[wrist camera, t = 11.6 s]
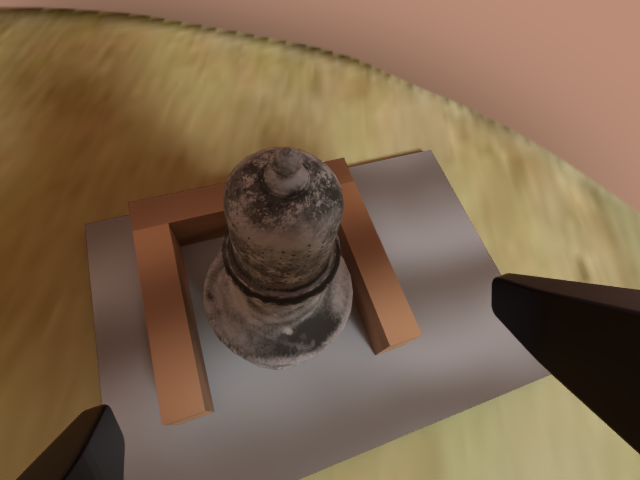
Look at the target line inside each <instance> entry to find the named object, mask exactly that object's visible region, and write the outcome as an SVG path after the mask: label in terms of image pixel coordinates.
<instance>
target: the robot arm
mask: <svg viewBox="0 0 640 480" xmlns="http://www.w3.org/2000/svg"><path fill="white" fill-rule="evenodd" d="M491 307H492V310H493V313H494V314H495V316H496V317H497V318H498V319H499V320H500V321H501V322H502V324H503V325H504V326H505V327H506V328H507V329H508V330H509V331H510V332H511V333H512V334H513V336H514V337H515V338H516V339H517V340H518V341H519V342H520V343H521V344H522V345H523V346H524V347H525V349H526V350H527V351H528V352H529V353H530V354H531V355H532V356H533V357H534V358H535V359H536V360H537V361H538V362H539V363H540V364H541V365H542V366H543V367H544V368H545V369H546V370H547V371H548V372H550V373H551V374H552V375H553V376H554V377H555V378H556V379H557V380H558V381H560V382H561V383H562V384H563V385H564V386H565V387H566V388H567V389H568V390H569V391H571V392H572V393H573V394H574V395H575V396H576V397H577V398H578V399H579V400H580V401H582V402H583V403H584V404H585V405H586V406H587V407H588V408H589V409H590V410H591V411H593V412H594V413H595V414H596V415H597V416H598V417H599V418H600V419H601V420H602V421H604V422H605V423H606V424H607V425H608V426H609V427H610V428H611V429H612V430H613V431H615V432H616V433H617V434H618V435H619V436H620V437H621V438H622V439H623V440H624V441H626V442H627V443H628V444H629V445H630V446H631V447H632V448H633V449H634V450H636V451H637V452H638V453H639V454H640V290H636V289H628V288H620V287H613V286H605V285H597V284H589V283H582V282H574V281H566V280H558V279H551V278H543V277H535V276H527V275H520V274H512V273H507V274H504V275H501V276H498V277H495V278H494V279H493V281H492V290H491ZM124 460H125V440H124V436H123V433H122V431H121V429H120V426H119V424H118V422H117V420H116V418H115V415H114V413H113V411H112V409H111V408H110V406H109V405H106V404H103V405H100V406H97V407H94V408H90V409H87V410H85V411H83V412H82V413H81V414H80V415H79V416H78V417H77V418H76V419H75V420H74V421H73V422H72V423H71V424H70V425H69V426H68V427H67V428H66V429H65V430H64V431H63V432H62V433H61V434H60V435H59V436H58V437H57V438H56V439H55V440H54V441H53V442H52V443H51V444H50V445H49V446H48V447H47V449H46V450H45V451H44V452H43V453H42V454H41V455H40V456H39V457H38V458H37V459H36V460H35V461H34V462H33V463H32V464H31V465H30V466H29V467H28V468H27V469H26V470H25V471H24V472H23V473H22V474H21V475H20V476H19V477H18V478H17V479H16V480H124Z"/></svg>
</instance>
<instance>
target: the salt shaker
mask: <svg viewBox="0 0 640 480" xmlns="http://www.w3.org/2000/svg"><path fill="white" fill-rule="evenodd" d="M343 208H344V201H343V194H342V188H341V185H340V183H339V181H338V179H337V177H336V175H335V174H334V173H333V171H332V170H331V169H330V168H329V167H328V166H327V165H326V164H325V163H324V162H322V161H321V160H319V159H318V158H317V157H315V156H314V155H312V154H310V153H307V152H305V151H302V150H300V149H295V148H290V147H273V148H268V149H264V150H261V151H259V152H256V153H254V154H252V155H250V156H248V157H246V158H245V159H244V160H242V161H241V162H240V163H239V164H238V165H236V166H235V168H234V169H233V171H232V172H231V174H230V175H229V177H228V180H227V183H226V186H225V189H224V195H223V209H224V213H225V217H226V222H227V226H228V227H227V228H226V230H225V233H224V236H223V240H222V243H221V250H220V251H219V252H218V254H217V255H216V257H215V258H214V260H213V262H212V263H211V265H210V266H209V270H208V273H207V276H206V279H205V283H204V303H203V304H204V307H205V311H206V315H207V319H208V322H209V324H210V326H211V327H212V329H213V331H214V332H215V334H216V335H217V337H218V339H219V340H220V341H221V342H222V343H223V344H224V345H225V346H226V347H228V348H229V349H230V350H231V351H232V352H233V353H234V354H236V355H238V356H240V357H242V358H243V359H245V360H246V361H248V362H250V363H252V364H254V365H256V366H258V367H261V368H267V369H273V370H278V369H288V368H292V367H295V366H297V365H300V364H302V363H305V362H306V361H307V360H309V359H311V358H314V357H316V356H317V355H318V354H320V353H321V352H322V351H324V350H325V349H326V348H328V347H329V346H330V345H332V343H333V342H334V341H335V339H336V338H337V337H338V336H339V334H340V333H341V332H342V330H343V329H344V327H345V324H346V322H347V320H348V317H349V315H350V312H351V307H352V298H353V288H352V282H351V275H350V273H349V270H348V268H347V266H346V264H345V261H344V259H343V258H342V256H341V249H340V242H339V238H338V236H337V232H338V229H339V226H340V223H341V220H342V215H343Z"/></svg>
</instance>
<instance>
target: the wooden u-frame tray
mask: <svg viewBox="0 0 640 480" xmlns="http://www.w3.org/2000/svg"><path fill="white" fill-rule="evenodd" d="M324 163H325V164H326V165H327V166H328V167H329V168H330V169H331V170H332V171H333V173H334V174H335V175H336V177H337V179H338V181H339V183H340V185H341V188H342V194H343V201H344V208H343V215H342V220H341V223H340V226H339V229H338V232H337V236H338V238H339V242H340V249H341V256H342V258H343V259H344V261H345V264H346V266H347V268H348V270H349V273H350V275H351V282H352V288H353V298H352V307H351V312H350V315H349V317H348V320H347V322H346V324H345V327H344V329H343V330H342V332H341V333H340V334H339V336H338V337H337V338H336V339H335V341H334V342H333V343H332V345H330V346H329V347H328V348H326V349H325V350H324V351H322V352H321V353H320V354H318V355H317V356H316V357H314V358H311V359H309V360H307V361H306V362H305V363H302V364H300V365H297V366H295V367H292V368H288V369H278V370H273V369H267V368H261V367H258V366H256V365H254V364H252V363H250V362H248V361H246V360H245V359H243V358H242V357H240V356H238V355H236V354H234V353H233V352H232V351H231V350H230V349H229V348H228V347H226V346H225V345H224V344H223V343H222V342H221V341H220V340H219V339H218V337H217V335H216V334H215V332H214V331H213V329H212V327H211V326H210V324H209V322H208V319H207V315H206V311H205V307H204V304H203V303H204V283H205V279H206V276H207V273H208V270H209V266H210V265H211V263H212V262H213V260H214V258H215V257H216V255H217V254H218V252H219V251H220V250H221V243H222V240H223V236H224V233H225V230H226V228H227V227H228V226H227V222H226V217H225V213H224V209H223V195H224V189H225V186H226V183H227V182H225V183H220V184H216V185H211V186H206V187H201V188H196V189H191V190H187V191H182V192H177V193H172V194H167V195H163V196H158V197H153V198H148V199H143V200H139V201H134V202H129V203H128V205H129V211H130V215H126V216H121V217H117V218H112V219H107V220H103V221H98V222H94V223H89V224H85V231H86V241H87V252H88V262H89V273H90V283H91V294H92V304H93V314H94V325H95V335H96V346H97V356H98V367H99V377H100V387H101V398H102V405H103V404H106V405H109V406H110V408H111V409H112V411H113V413H114V415H115V418H116V420H117V422H118V424H119V426H120V429H121V431H122V433H123V436H124V440H125V460H124V480H299V479H301V478H303V477H306V476H308V475H311V474H313V473H315V472H318V471H320V470H323V469H325V468H327V467H330V466H332V465H335V464H337V463H339V462H342V461H344V460H347V459H349V458H351V457H354V456H356V455H359V454H361V453H363V452H366V451H368V450H371V449H373V448H375V447H378V446H380V445H383V444H385V443H387V442H390V441H392V440H395V439H397V438H399V437H402V436H404V435H407V434H409V433H412V432H414V431H416V430H419V429H421V428H424V427H426V426H428V425H431V424H433V423H436V422H438V421H440V420H443V419H445V418H448V417H450V416H452V415H455V414H457V413H460V412H462V411H464V410H467V409H469V408H472V407H474V406H476V405H479V404H481V403H484V402H486V401H488V400H491V399H493V398H496V397H498V396H500V395H503V394H505V393H508V392H510V391H512V390H515V389H517V388H520V387H522V386H524V385H527V384H529V383H532V382H534V381H536V380H539V379H541V378H544V377H546V376H548V375H551V373H550V372H548V371H547V370H546V369H545V368H544V367H543V366H542V365H541V364H540V363H539V362H538V361H537V360H536V359H535V358H534V357H533V356H532V355H531V354H530V353H529V352H528V351H527V350H526V349H525V347H524V346H523V345H522V344H521V343H520V342H519V341H518V340H517V339H516V338H515V337H514V336H513V334H512V333H511V332H510V331H509V330H508V329H507V328H506V327H505V326H504V325H503V324H502V322H501V321H500V320H499V319H498V318H497V317H496V316H495V314H494V313H493V310H492V307H491V290H492V281H493V279H494V278H495V277H498V276H501V274H500V272H499V270H498V269H497V267H496V265H495V263H494V262H493V260H492V258H491V256H490V254H489V253H488V251H487V249H486V247H485V246H484V244H483V242H482V240H481V238H480V237H479V235H478V233H477V231H476V229H475V228H474V226H473V224H472V222H471V221H470V219H469V217H468V215H467V213H466V212H465V210H464V208H463V206H462V205H461V203H460V201H459V199H458V197H457V196H456V194H455V192H454V190H453V189H452V187H451V185H450V183H449V181H448V180H447V178H446V176H445V174H444V173H443V171H442V169H441V167H440V165H439V164H438V162H437V160H436V158H435V157H434V155H433V153H432V151H431V150H428V151H423V152H418V153H414V154H409V155H404V156H400V157H395V158H390V159H386V160H381V161H376V162H372V163H367V164H363V165H358V166H353V167H349V168H348V166H347V164H346V162H345V159H344V158H340V159H336V160H331V161H326V162H324Z"/></svg>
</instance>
